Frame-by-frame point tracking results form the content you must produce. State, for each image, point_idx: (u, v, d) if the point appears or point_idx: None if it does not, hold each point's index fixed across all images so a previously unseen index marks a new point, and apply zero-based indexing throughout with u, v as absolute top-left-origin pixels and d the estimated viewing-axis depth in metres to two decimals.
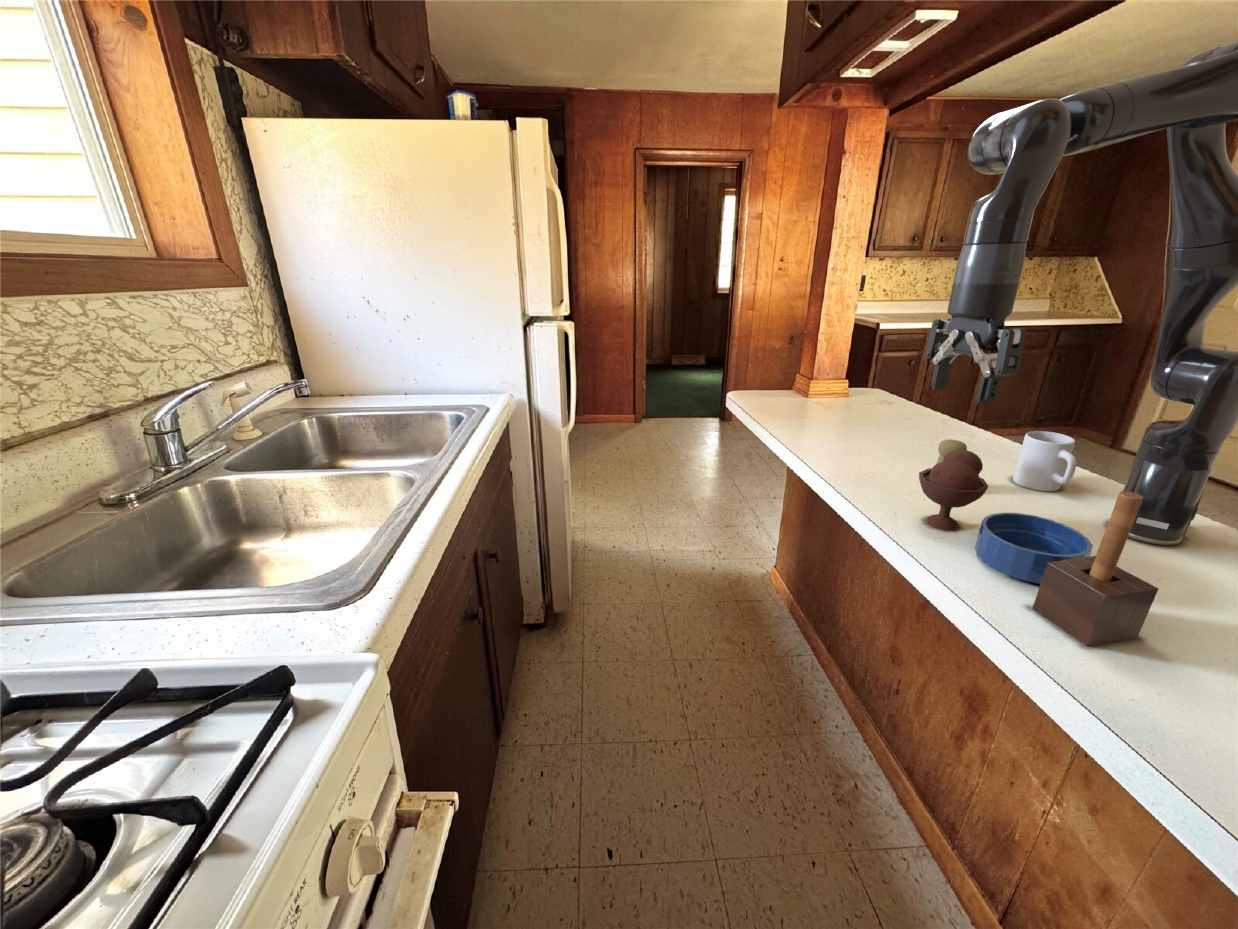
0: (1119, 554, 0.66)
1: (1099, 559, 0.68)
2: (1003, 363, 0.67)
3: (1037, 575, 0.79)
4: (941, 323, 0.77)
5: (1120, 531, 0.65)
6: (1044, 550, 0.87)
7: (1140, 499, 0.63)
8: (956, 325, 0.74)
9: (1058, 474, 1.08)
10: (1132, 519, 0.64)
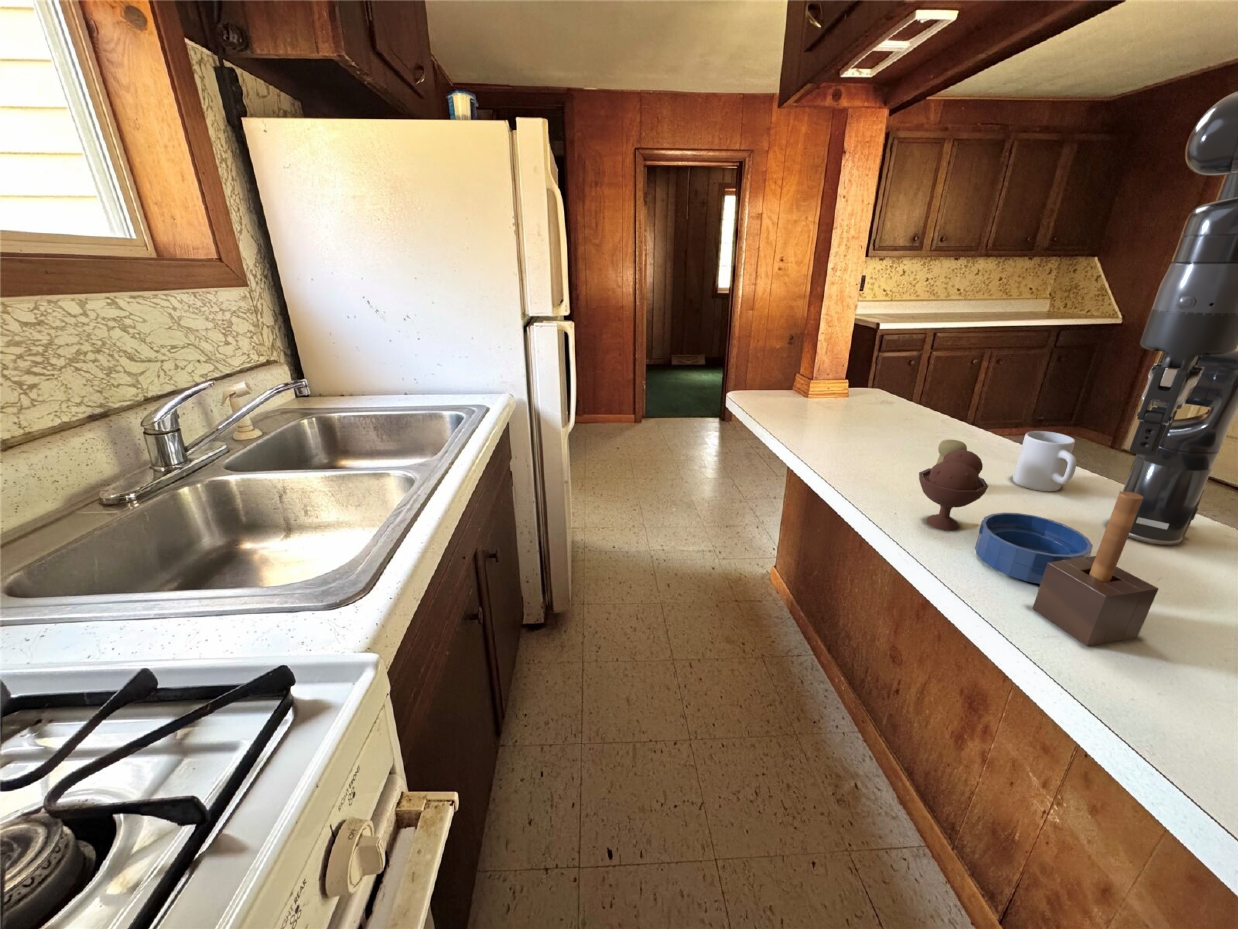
0: (1119, 554, 0.66)
1: (1099, 559, 0.68)
2: None
3: (1037, 575, 0.79)
4: None
5: (1120, 531, 0.65)
6: (1044, 550, 0.87)
7: (1140, 499, 0.63)
8: None
9: (1058, 474, 1.08)
10: (1132, 519, 0.64)
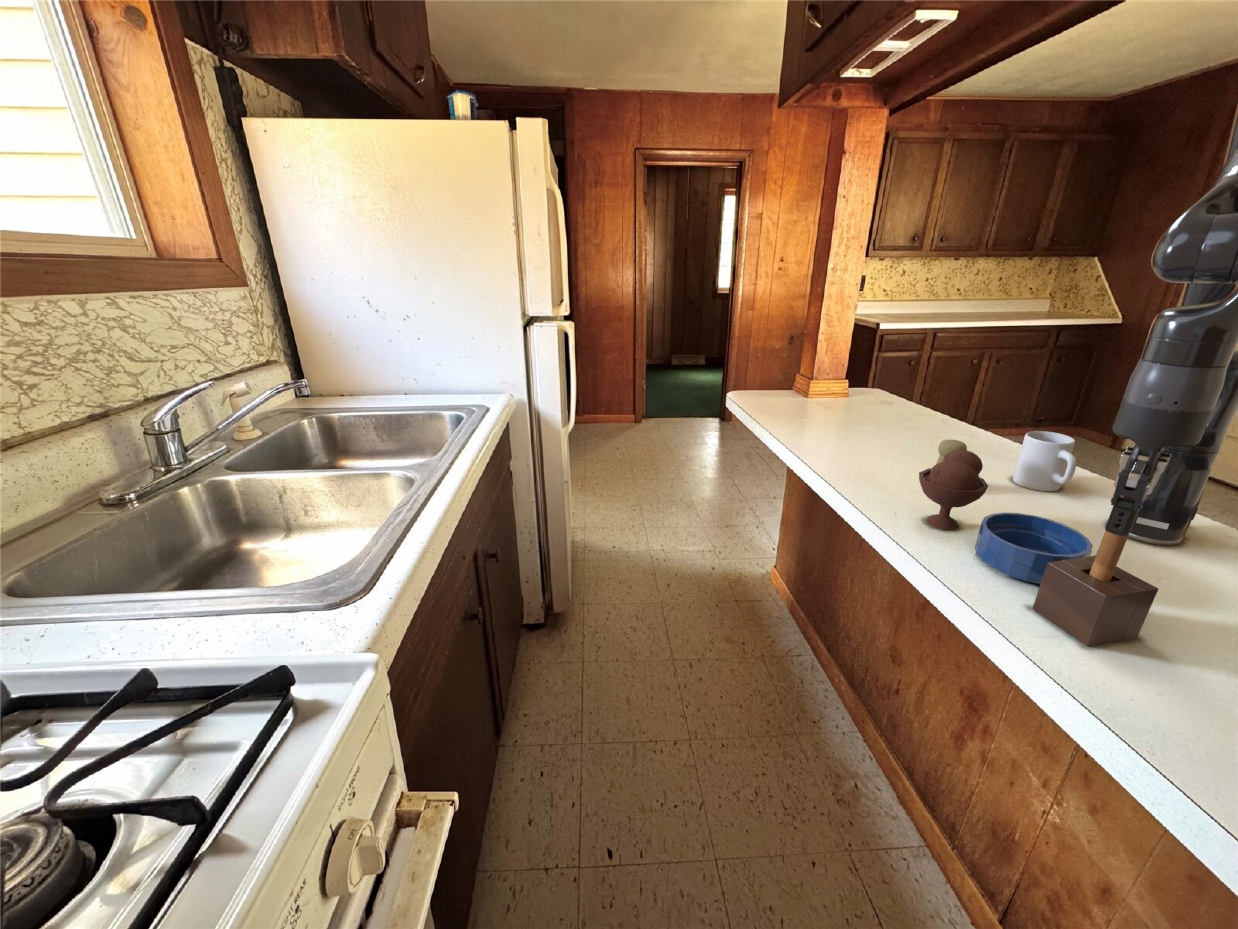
0: (1119, 554, 0.66)
1: (1099, 559, 0.68)
2: None
3: (1037, 575, 0.79)
4: None
5: None
6: (1044, 550, 0.87)
7: None
8: None
9: (1058, 474, 1.08)
10: None
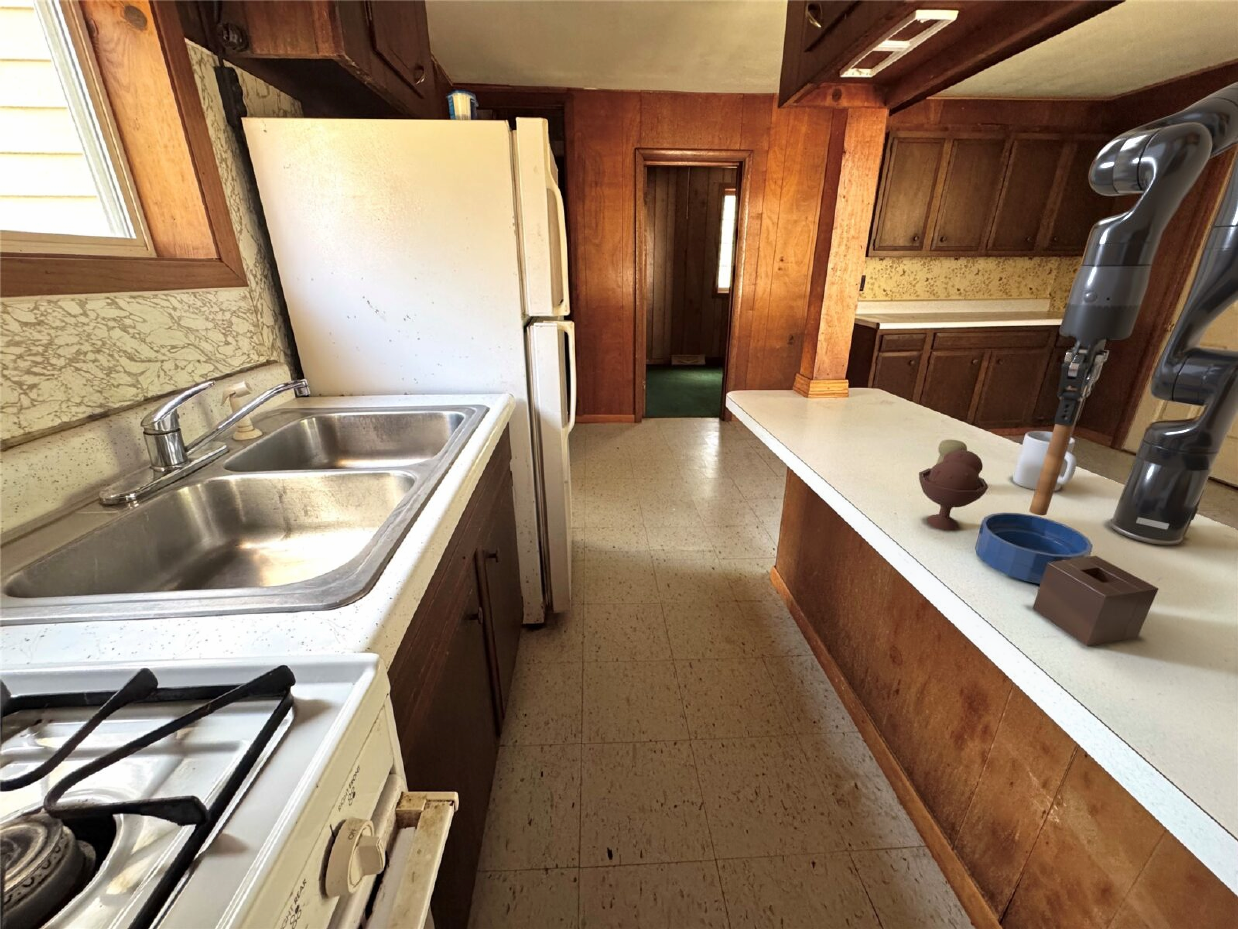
0: (1067, 444, 0.76)
1: (1050, 451, 0.77)
2: None
3: (1037, 575, 0.79)
4: None
5: None
6: (1044, 550, 0.87)
7: None
8: None
9: None
10: None
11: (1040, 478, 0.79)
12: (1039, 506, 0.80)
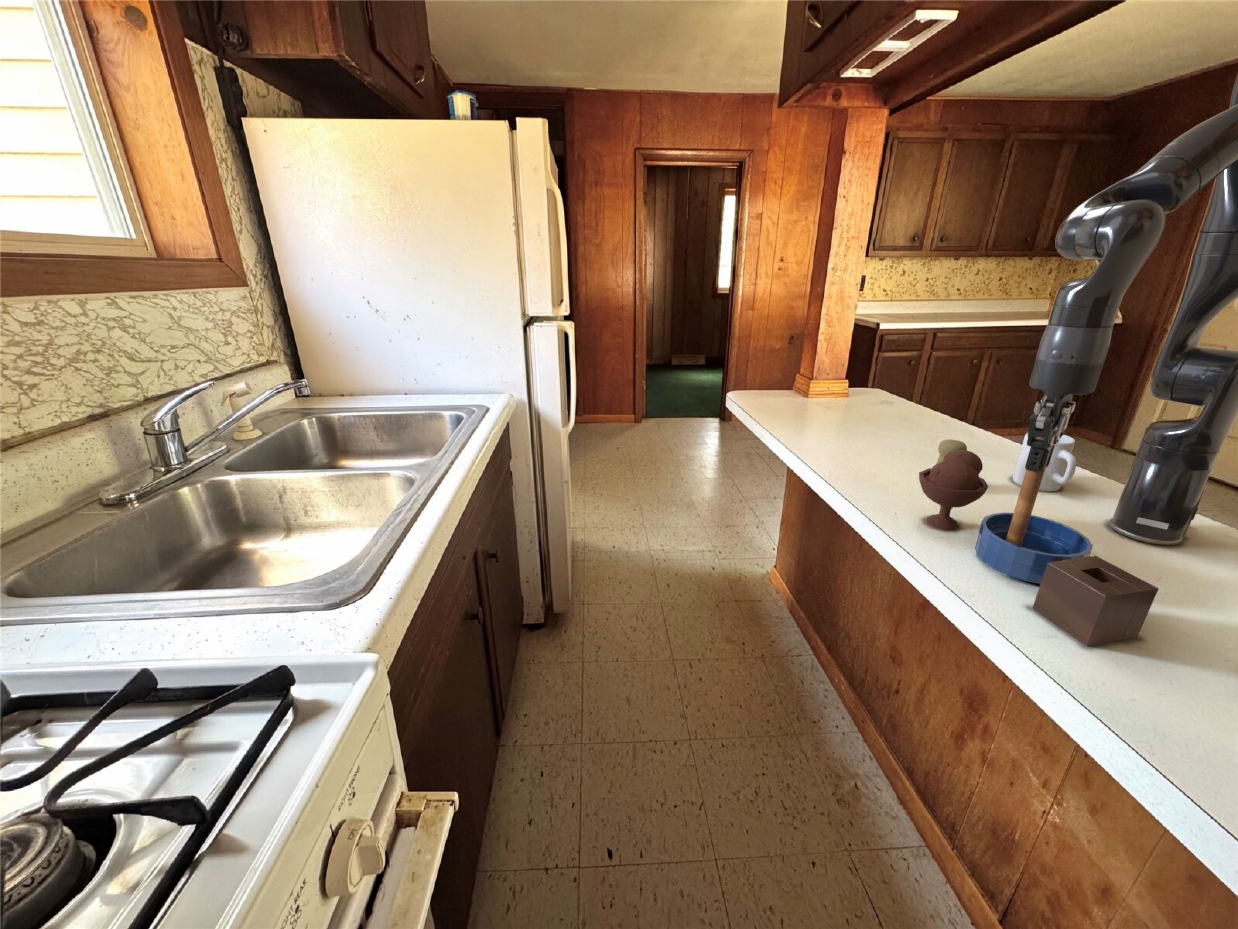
0: (1037, 489, 0.80)
1: (1021, 494, 0.81)
2: None
3: (1037, 575, 0.79)
4: None
5: None
6: (1044, 550, 0.87)
7: None
8: None
9: (1058, 474, 1.08)
10: None
11: (1013, 519, 0.83)
12: None
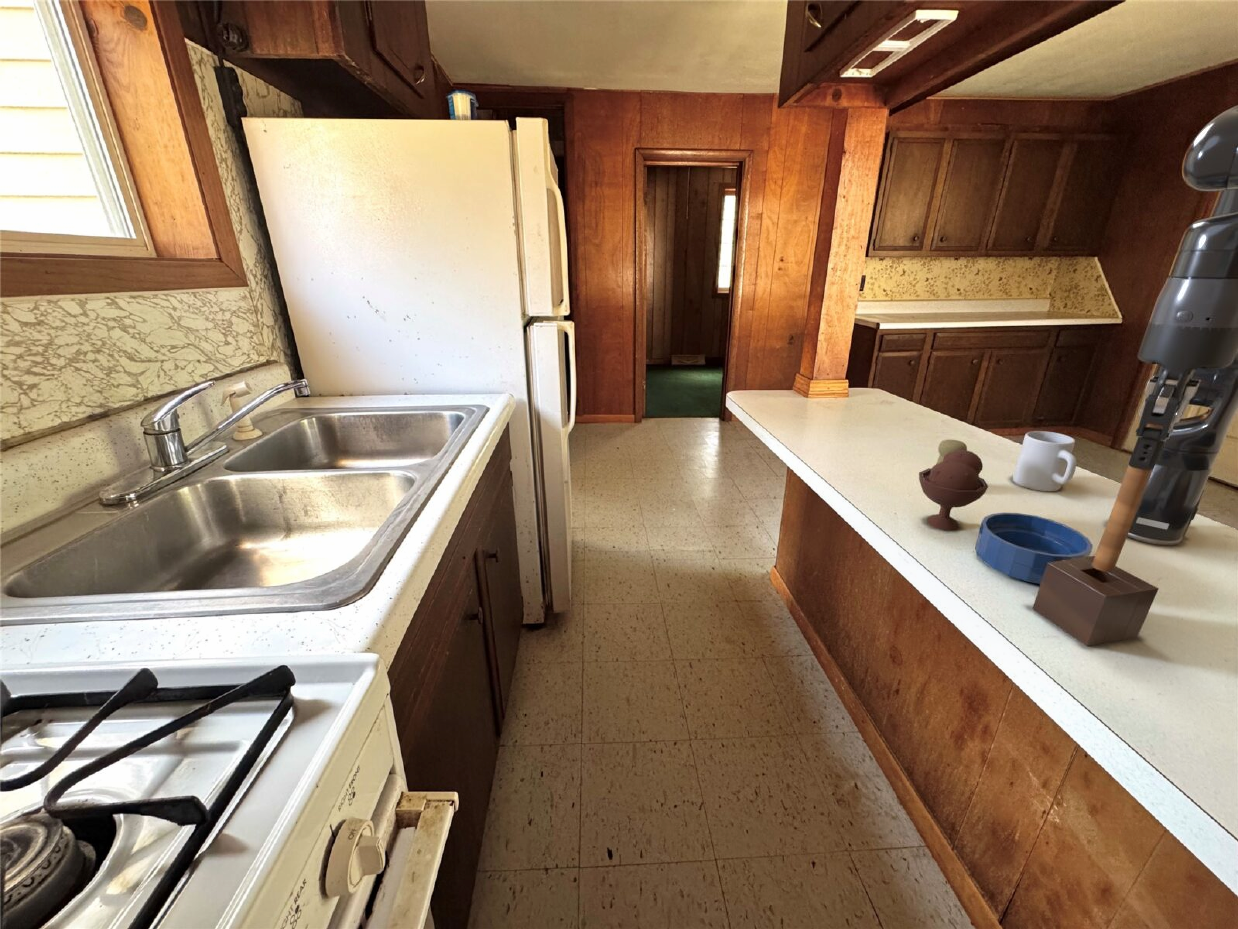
0: (1143, 491, 0.63)
1: (1121, 497, 0.64)
2: (1138, 427, 0.59)
3: (1037, 575, 0.79)
4: None
5: None
6: (1044, 550, 0.87)
7: None
8: None
9: (1058, 474, 1.08)
10: None
11: (1107, 529, 0.67)
12: (1105, 561, 0.67)
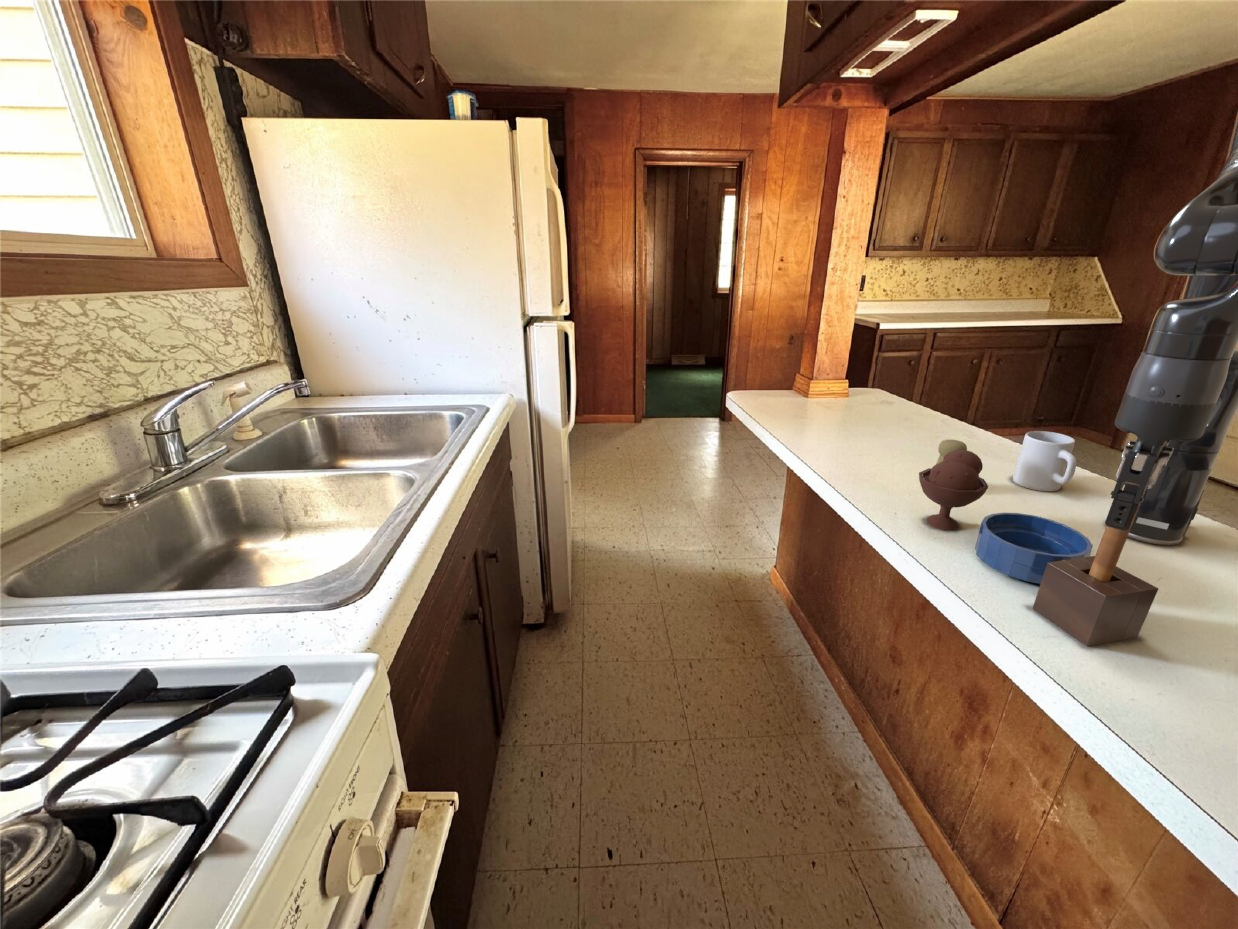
0: (1118, 554, 0.66)
1: (1098, 559, 0.68)
2: (1115, 486, 0.60)
3: (1037, 575, 0.79)
4: None
5: (1120, 531, 0.65)
6: (1044, 550, 0.87)
7: None
8: None
9: (1058, 474, 1.08)
10: None
11: None
12: None
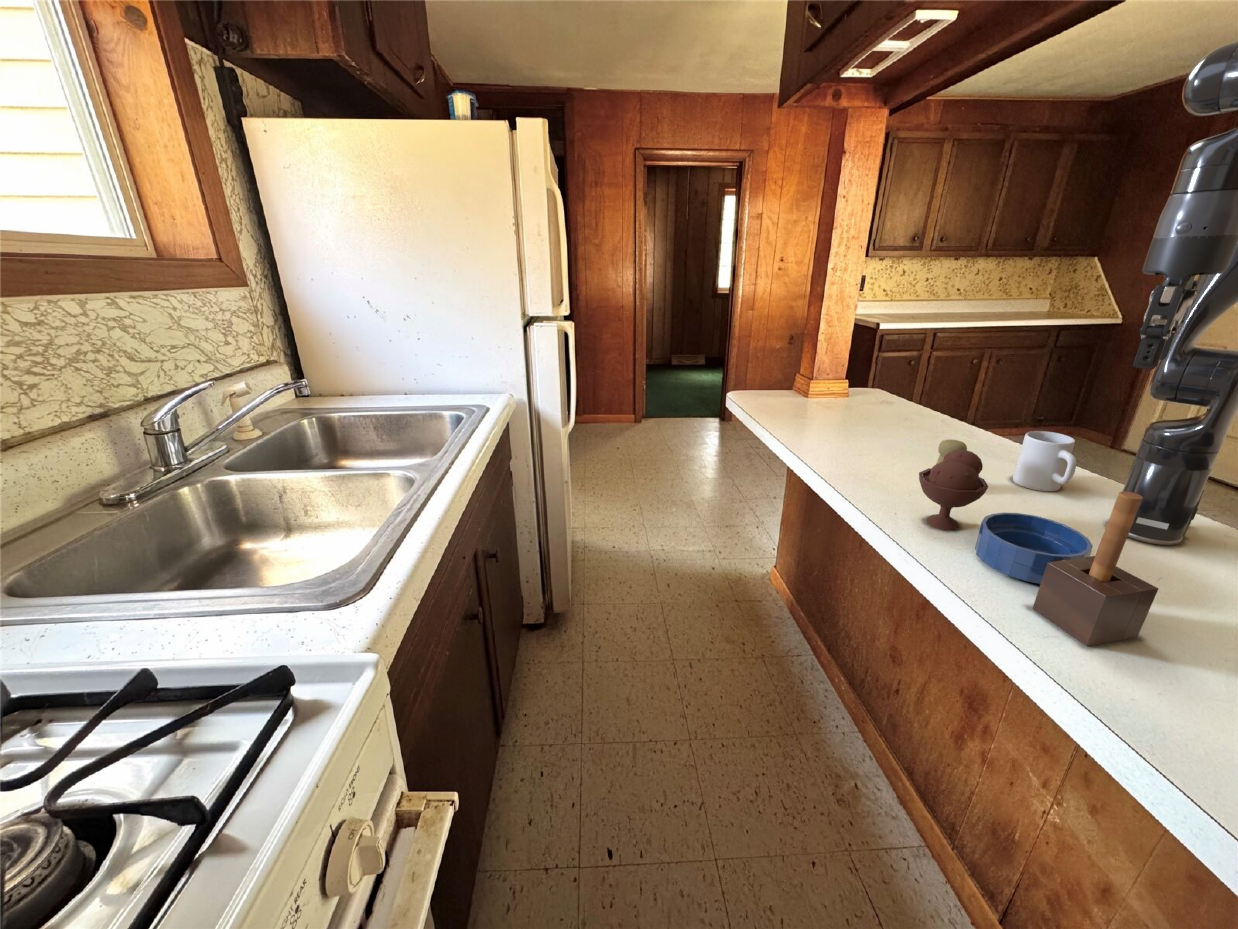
0: (1118, 554, 0.66)
1: (1098, 559, 0.68)
2: (1144, 321, 0.64)
3: (1037, 575, 0.79)
4: None
5: (1120, 531, 0.65)
6: (1044, 550, 0.87)
7: (1139, 499, 0.63)
8: None
9: (1058, 474, 1.08)
10: (1131, 519, 0.64)
11: None
12: None
